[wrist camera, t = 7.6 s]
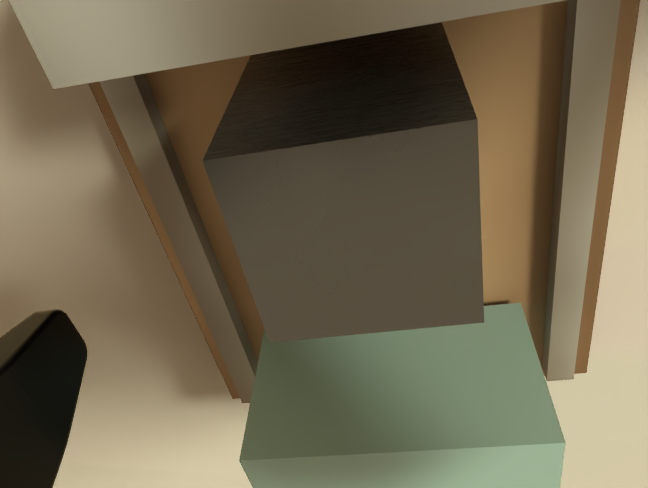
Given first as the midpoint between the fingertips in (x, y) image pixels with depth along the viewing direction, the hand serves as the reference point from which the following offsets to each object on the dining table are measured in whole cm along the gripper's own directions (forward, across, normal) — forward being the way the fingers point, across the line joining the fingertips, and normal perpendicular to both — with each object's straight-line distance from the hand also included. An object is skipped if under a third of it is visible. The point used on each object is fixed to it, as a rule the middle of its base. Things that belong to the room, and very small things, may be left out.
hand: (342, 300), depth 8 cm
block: (+6, 0, 0) cm, 6 cm away
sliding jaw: (+6, 0, +7) cm, 9 cm away
